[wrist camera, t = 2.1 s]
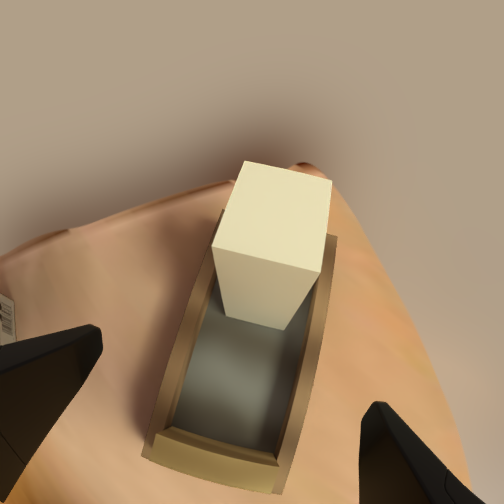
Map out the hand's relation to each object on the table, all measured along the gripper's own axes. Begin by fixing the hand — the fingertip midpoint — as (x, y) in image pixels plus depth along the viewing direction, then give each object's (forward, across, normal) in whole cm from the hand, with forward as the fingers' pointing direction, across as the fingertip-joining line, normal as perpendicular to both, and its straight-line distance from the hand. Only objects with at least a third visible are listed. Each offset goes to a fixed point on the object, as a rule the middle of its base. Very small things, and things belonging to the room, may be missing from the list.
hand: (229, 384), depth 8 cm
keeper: (+14, 0, +3) cm, 14 cm away
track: (+11, 0, +7) cm, 13 cm away
